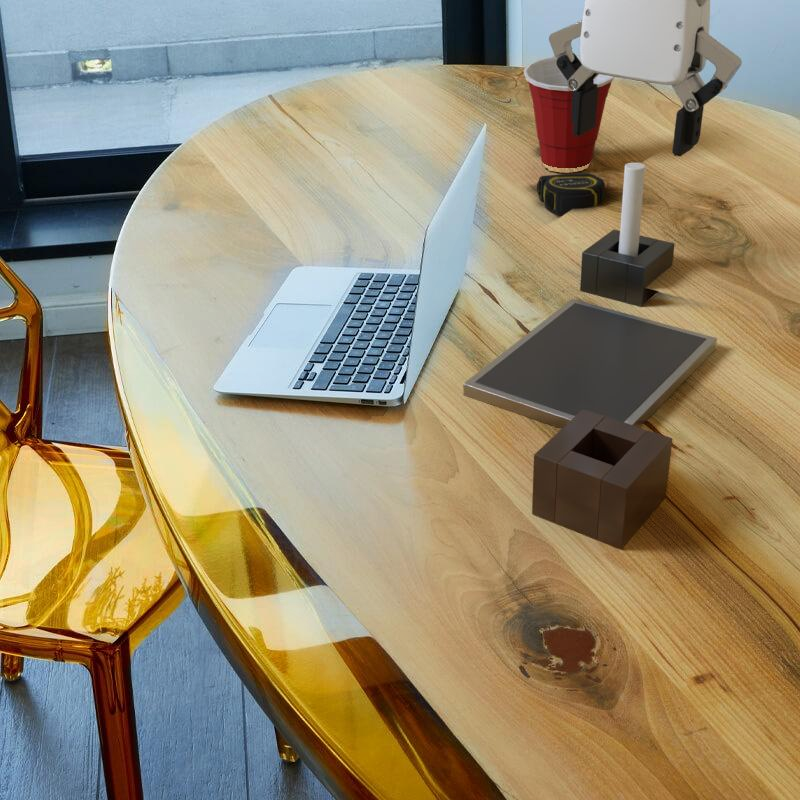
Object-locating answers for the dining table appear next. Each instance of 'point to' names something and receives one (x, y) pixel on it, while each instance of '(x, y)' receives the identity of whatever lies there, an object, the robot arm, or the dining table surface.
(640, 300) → the stylus holder
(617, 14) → the robot arm
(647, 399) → the tablet
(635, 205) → the stylus
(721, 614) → the dining table surface
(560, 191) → the tape measure
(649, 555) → the dining table surface
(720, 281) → the dining table surface
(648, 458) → the pen stand
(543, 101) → the plastic cup
